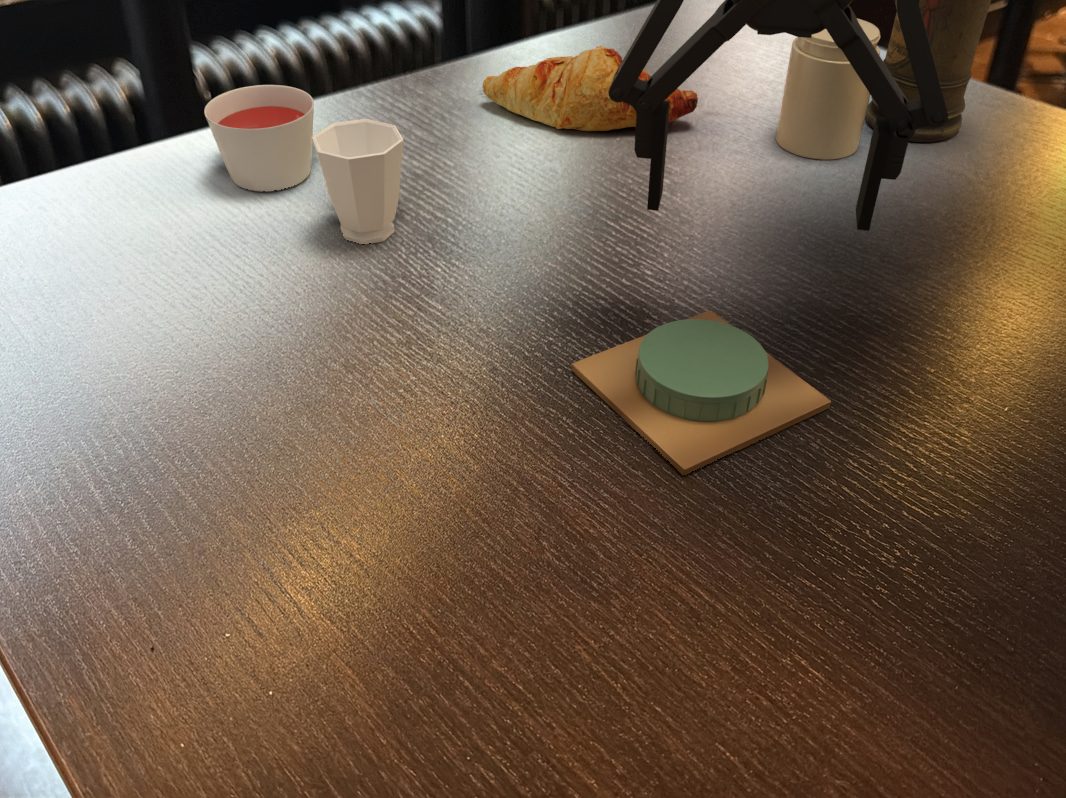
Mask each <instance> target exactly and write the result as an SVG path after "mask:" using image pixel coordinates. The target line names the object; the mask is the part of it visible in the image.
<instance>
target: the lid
mask: <svg viewBox="0 0 1066 798" xmlns="http://www.w3.org/2000/svg"><path fill="white" fill-rule="evenodd" d="M728 324H729V323H728ZM728 324H725V323H721V322H717V321H712V320H704V319H688V318H686V319H679V320H673V321H670V322H667V323H664V324H661V325H659V326H656V327H655V328H653V329H652V330H651V331H649V332H648V333H647V334H645V335H646V336H645V337H644V339H643V340H642V342H641V344H640V347H639V352H638V358H637V360H636V371H635V374H636V377H637V385H638V386H639V388H640V390H641V392H642V393H643V395H644V396H645V397H646V398H647V399H648V400H649V401H650V402H651V403H652V404H653V405H655V406H656V407H658V408H659V409H661V410H663V411H665V412H667V413H669V414H672V415H674V416H677V417H681V418H684V419H689V420H695V421H708V422H710V421H722V420H728V419H732V418H735V417H738V416H741V415H743V414H745V413H747V412H749V411H750V410H751V409H753V408H754V407H755V406H756V405H757V404H759V401H760V400H761V397H762V395H764V393H765V388H766V383H767V374H768V367H769V362H768V357H767V354H766V352H767V351H766V350H765V349H764V347H763V345H761V343H760V342H759V340H757V339H755V338H754V336H752V335H751V334H749V333H748V332H746V331H745V330H743V329H740V328H738V327H736V326H734V325H732V324H730V325H728Z"/></svg>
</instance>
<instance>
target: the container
mask: <svg viewBox="0 0 1066 798" xmlns="http://www.w3.org/2000/svg"><path fill="white" fill-rule="evenodd" d="M991 2H992V0H919V6H920V10H921V13H922V17H923V21H924V25H925V28H926V32H927V36H928V40H929V43H930V47H931V51H932V55H933V58H934V62H935V66H936V70H937V73H938V77H939V81H940V85H941V89H942V92H943V96H944V100H945V104H946V108H947V112H948V119H947V122H946V123H945V124H944V125H942V126H940V127H932V126H930V125H928V126H924V127H920V128H918V129H916V130H915V133H914V135H913V136H912V137H911V138H910V139H909V142H915V143H933V142H941V141H945V140H948V139H951V138H953V137H954V136H955V135H956V134H957V133H958V132H959V130H960V129H961V126H962V123H963V116H962V114H963V112H964V111H965V109H966V102H965V101H966V99H965V95H966V91H967V88H968V85H969V84H968V83H970V81H971V79H972V68H973V65H974V60H975V57H976V52H977V49H978V46H979V42H980V39H981V36H982V32H983V30H984V26H985V23H986V19H987V16H988V12H989V8H990V6H991ZM882 60H883V62H884V64H885V65H886V67H887V68H888V70H889V71H890V73H891V75H892V76H893V78H894V79H895V81H896V83H897V84H898V86H899V87H900V89H901V90H902V92H903V94H904V95H905V97H906V98H907V100H908V101H912V100H916V99H920V95H919V91H918V88H917V84H916V80H915V77H914V73H913V70H912V66H911V63H910V59H909V55H908V52H907V48H906V45H905V41H904V37H903V34H902V30H901V27H900V23H899V19H898V14H897V12H896V14H895V17H894V22H893V26H892V30H891V34H890V39H889V41H888V46H887V49H886V54H885V57H884V59H882ZM870 99H871V101H869V103H868V107H867V111H866V116H865V120H866V122H867V123H868V125H869V126H870V127H871V128H872V129H874V125H875V120H876V117H885V116H884V115H883V113H882V112H881V110H880V109H879V107H878V106H877V104H876V102H875V101H874V99H873V98H872V96H871V95H870Z"/></svg>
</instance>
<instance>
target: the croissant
mask: <svg viewBox="0 0 1066 798" xmlns="http://www.w3.org/2000/svg"><path fill="white" fill-rule="evenodd" d="M622 61H623V57H622V55H620V54H619V52H618V50H616V49H614V48H608V47H605V46H603V45H599V46H596V48H592V49H586V50H583V51H580V53H578V55H575V56H555V57H546V58H545V59H543V60H540V61H538V62H537V63H535V64H531V65H528V66H513V67H511V68H509V69H507V70H505V71H502V72H501V73H499V75H497V76H495V75H491V76H490V75H489V76H486V78H484V79H483V82H482V89H483V90H482V92H483V94H484V95H485V96H486V97H487V99H489V100H492V101H493V102H494V103H495V104H497V105H499V106H501V107H503V108H504V109H506V110H507V111H508V112H512V113H513V114H515V115H520V116H522V117H525V118H527V119H530V120H532V121H534V122H539V123H541V124H544V125H546V126H550V127H553V128H556V130H557V129H558V130H562V129H565V130H578V131H581V132H605V131H606V132H607V131H610V130H621V129H626V128H636V111H635V109H634V108H633V107H632V106H631V105H629V104H627V103H624V102H614V101H612V100H611V99H610V97H609V93H608V92H609V89H610V86H611V83H612V80H613V78H614V75H615V73H616V71H617V70H618V68H619V66H620V64H621V63H622ZM651 76H652V75H650V74H649V73H648V71H647V70H646V69H645V68H644V69H643V71H642V73H641V74H640V76H639V78H638V79H641V80H643V81H644V80H646V81H647V80H648V79H649V78H650V77H651ZM698 98H699V97H698V94H697V92H695V91H693V90H683V89H682V90H681V89H679V87H678V88H677V89H676V90H675V91H674V92H673V93H672V94H671V95H670V96H669V97H668V98H667V99H666V100H665V101H670V110H669V122H668V124H670V123H673V122H674V121H676V120H679V119H680V118H682V117H685V116H686V115H689V114H691V113H694V112H695V110H696V109H697V107H698V101H699V99H698Z"/></svg>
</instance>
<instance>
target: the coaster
mask: <svg viewBox="0 0 1066 798" xmlns="http://www.w3.org/2000/svg"><path fill="white" fill-rule="evenodd" d="M687 319H704V320H712V321H717V322H721V323H725V324H728V325H731V324H730V323H729V322H727V321H725V320H724V319H723V318H722V317H721V316H719V315H718V314H716V313H715V312H714V311H712V310H710V309H709V310H706V311H704V312H701V313H699V314H696V315H694V316H691V317H689V318H687ZM646 335H647V334H644V335H642V336H639V337H637V338H635V339H631V340H629V341H627V342H624V343H621V344H619V345H616V346H614V347H611V348H608V349H606V350H603V351H601V352H598V353H596V354H593V355H590V356H587V357H585V358H582V359H580V360H577V361H575V362H572V363H571V368H570V369H571V371H572V373H574V374H575V375H576V376H577V377H578V378H579V379H580V380H581V381H582V382H583V383H584V384H585V385H586V386H588V387H589V389H590V390H592V391H593V392H594V393H595V395H597V396H598V398H600V399H601V400H602V401H603V402H605V404H606V405H608V407H610V408H611V409H612V410H613V411H614V412H615V414H617V415H618V416H619V415H620V416H621V417H620V416H619V417H620V418H621V419H622V420H623V421H625V423H626V424H628V425H629V426H630V428H632V429H633V430H634V431H635V430H636V431H635V432H636V433H637V432H638V433H639V434H640V435H639V434H638V433H637V434H638V435H639V436H640V437H642V438H643V437H644V438H643V440H645V441H646V440H647V441H646V442H647V443H648V442H649V443H648V445H650V444H651V445H652V446H653V447H654V448H656V450H658V452H660V453H659V455H661V454H662V455H661V457H663V456H664V457H663V458H664V459H665V458H666V459H665V461H667V460H668V461H669V462H670V463H669V462H668V461H667V462H668V463H669V464H670V465H671V464H672V465H673V466H674V467H675V468H676V469H677V470H676V469H675V468H674V467H673V466H672V465H671V466H672V467H673V468H674V469H675V470H676V471H677V472H678V473H679V474H680V475H682V476H683V475H685V476H687V474H688V475H690V474H692V473H693V472H692V471H694V472H696V471H698V470H700V469H702V467H703V468H705V467H706V466H705V465H707V464H709V465H711V464H713V463H715V462H717V461H718V460H717V459H720V458H722V457H724V456H726V455H728V456H730V455H732V454H734V453H733V452H735V451H737V452H739V451H741V450H743V449H745V448H748V447H749V446H752V445H754V444H756V443H758V442H760V441H762V440H764V439H767V438H769V437H771V436H773V435H775V434H777V433H780V432H781V431H784V430H786V429H788V428H790V427H792V426H795V425H796V424H799V423H801V422H803V421H805V420H807V419H809V418H811V417H814V416H815V415H817V414H820V413H822V412H824V411H826V410H828V409H830V407H831V405H832V401H831V399H829V398H828V397H826V396H825V395H824V394H823V393H821V392H820V391H819V390H817V389H816V388H815V387H813V386H812V385H810V384H809V383H808V382H807V381H805V380H804V379H802V378H801V377H800V376H799V375H797V374H796V373H795V372H794V371H792V370H791V369H790V368H788V367H787V366H785V365H784V364H782V362H780V361H779V360H777V359H776V358H775V357H773V356H772V355H771V354H770V353H769V352H767V351H765V352H766V354H767V357H768V362H769V367H768V374H767V383H766V388H765V393H764V395H762V397H761V400H760V401H759V404H757V405H756V406H755V407H754V408H753V409H751V410H750V411H749V412H747V413H745V414H743V415H741V416H738V417H735V418H732V419H728V420H722V421H710V422H708V421H695V420H689V419H684V418H681V417H677V416H674V415H672V414H669V413H667V412H665V411H663V410H661V409H659V408H658V407H656V406H655V405H653V404H652V403H651V402H650V401H649V400H648V399H647V398H646V397H645V396H644V395H643V393H642V392H641V390H640V388H639V386H638V385H637V377H636V374H635V371H636V360H637V358H638V352H639V347H640V344H641V342H642V340H643V339H644V337H645V336H646ZM766 437H767V438H766ZM759 440H760V441H759ZM751 444H752V445H751ZM651 445H650V446H651ZM652 446H651V447H652ZM653 447H652V448H653ZM654 448H653V449H654ZM656 450H655V451H656ZM738 450H739V451H738ZM658 452H657V453H658ZM731 453H732V454H731ZM735 453H736V452H735ZM729 454H730V455H729ZM726 457H727V456H726ZM724 458H725V457H724ZM722 459H723V458H722ZM720 460H721V459H720ZM714 461H715V462H714ZM712 462H713V463H712ZM710 463H711V464H710ZM704 466H705V467H704ZM707 466H708V465H707ZM700 467H701V468H700ZM699 468H700V469H699ZM697 469H698V470H697ZM695 470H696V471H695ZM691 472H692V473H691ZM689 473H690V474H689Z"/></svg>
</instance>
